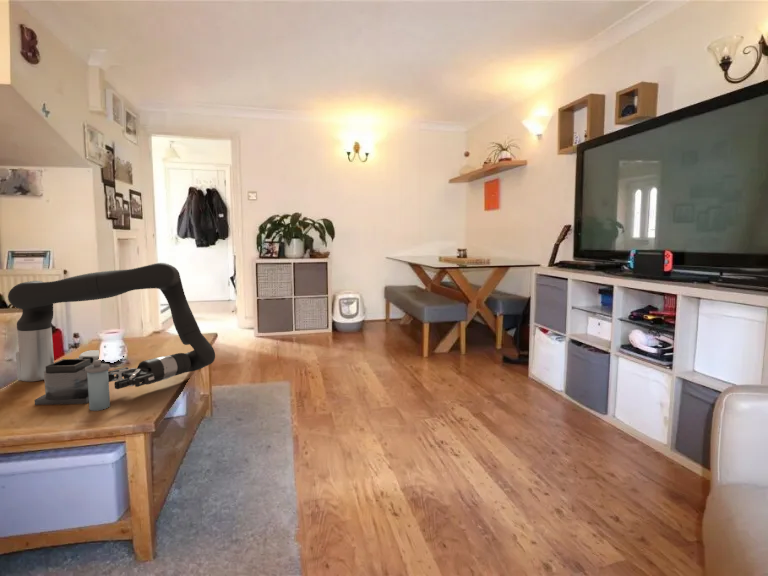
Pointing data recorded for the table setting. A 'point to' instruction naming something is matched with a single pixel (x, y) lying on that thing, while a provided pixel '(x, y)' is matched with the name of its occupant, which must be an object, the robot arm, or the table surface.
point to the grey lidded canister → (98, 385)
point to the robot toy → (90, 355)
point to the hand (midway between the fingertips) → (106, 383)
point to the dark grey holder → (65, 383)
